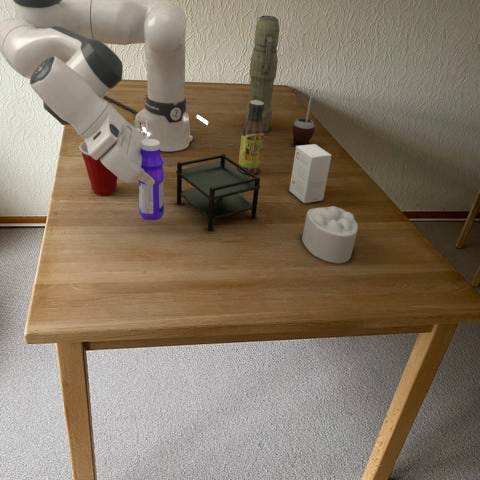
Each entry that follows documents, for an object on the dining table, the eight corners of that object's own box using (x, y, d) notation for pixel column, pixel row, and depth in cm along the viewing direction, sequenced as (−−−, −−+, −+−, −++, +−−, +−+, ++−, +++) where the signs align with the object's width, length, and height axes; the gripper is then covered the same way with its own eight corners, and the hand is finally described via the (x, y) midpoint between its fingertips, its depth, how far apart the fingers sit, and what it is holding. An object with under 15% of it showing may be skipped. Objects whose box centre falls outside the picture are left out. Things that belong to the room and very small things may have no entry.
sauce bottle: (243, 176, 147) (249, 106, 135) (234, 167, 152) (240, 99, 140) (263, 174, 150) (271, 105, 138) (254, 165, 154) (261, 98, 142)
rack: (175, 203, 131) (176, 162, 125) (221, 192, 138) (223, 153, 132) (209, 231, 121) (211, 189, 115) (256, 218, 128) (261, 177, 122)
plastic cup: (129, 199, 131) (126, 154, 124) (85, 201, 128) (80, 155, 121) (124, 180, 139) (121, 137, 132) (82, 182, 136) (77, 138, 129)
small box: (323, 200, 139) (332, 155, 131) (303, 204, 137) (311, 157, 129) (307, 187, 145) (315, 143, 137) (288, 190, 142) (295, 145, 134)
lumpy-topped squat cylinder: (335, 231, 126) (342, 199, 121) (361, 260, 117) (370, 227, 111) (297, 235, 123) (302, 203, 118) (320, 265, 114) (328, 232, 108)
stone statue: (264, 121, 186) (276, 13, 164) (274, 134, 177) (288, 21, 156) (240, 122, 183) (249, 12, 162) (249, 134, 174) (260, 20, 153)
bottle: (140, 206, 121) (137, 134, 111) (164, 207, 122) (164, 136, 111) (138, 222, 116) (135, 147, 105) (163, 222, 116) (163, 149, 106)
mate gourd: (297, 149, 167) (304, 102, 158) (285, 140, 173) (292, 94, 164) (316, 147, 170) (324, 101, 161) (304, 138, 175) (312, 93, 166)
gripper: (100, 121, 115) (146, 164, 122) (87, 158, 99) (141, 205, 106) (119, 102, 113) (164, 147, 120) (109, 137, 97) (162, 186, 104)
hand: (153, 175), depth 113 cm, fingers closed on bottle, 7 cm apart
